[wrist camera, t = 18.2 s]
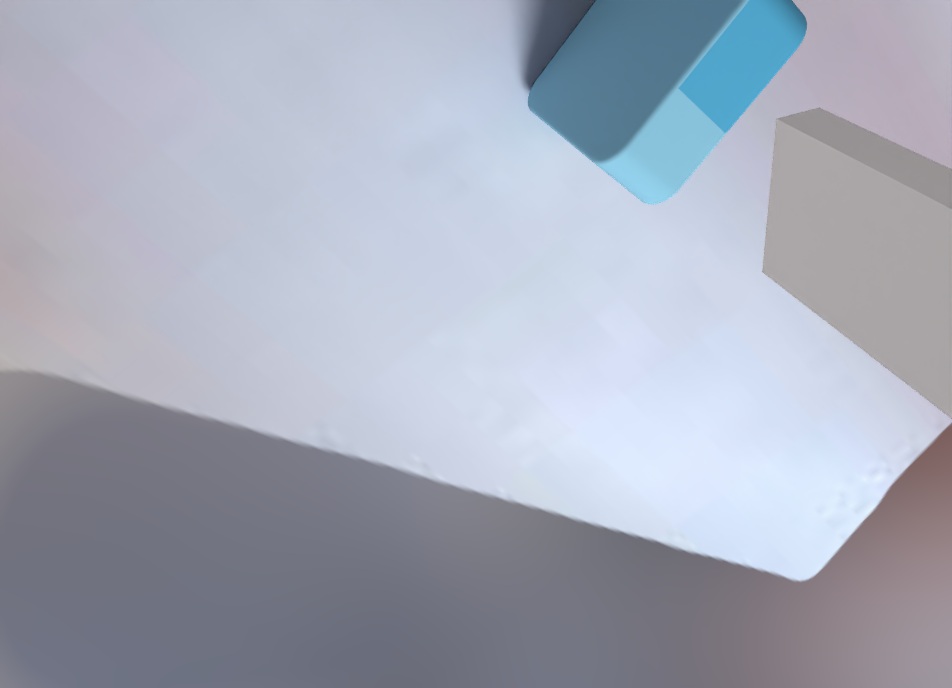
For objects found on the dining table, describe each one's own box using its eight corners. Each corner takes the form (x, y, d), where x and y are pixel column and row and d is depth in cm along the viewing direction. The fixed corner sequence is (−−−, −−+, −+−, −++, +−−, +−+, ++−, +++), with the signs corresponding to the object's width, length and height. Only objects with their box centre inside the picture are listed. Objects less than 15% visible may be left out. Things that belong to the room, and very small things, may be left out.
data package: (567, 140, 53) (659, 215, 44) (518, 100, 51) (604, 171, 41) (694, -22, 50) (822, 22, 41) (648, -73, 48) (773, -39, 38)
